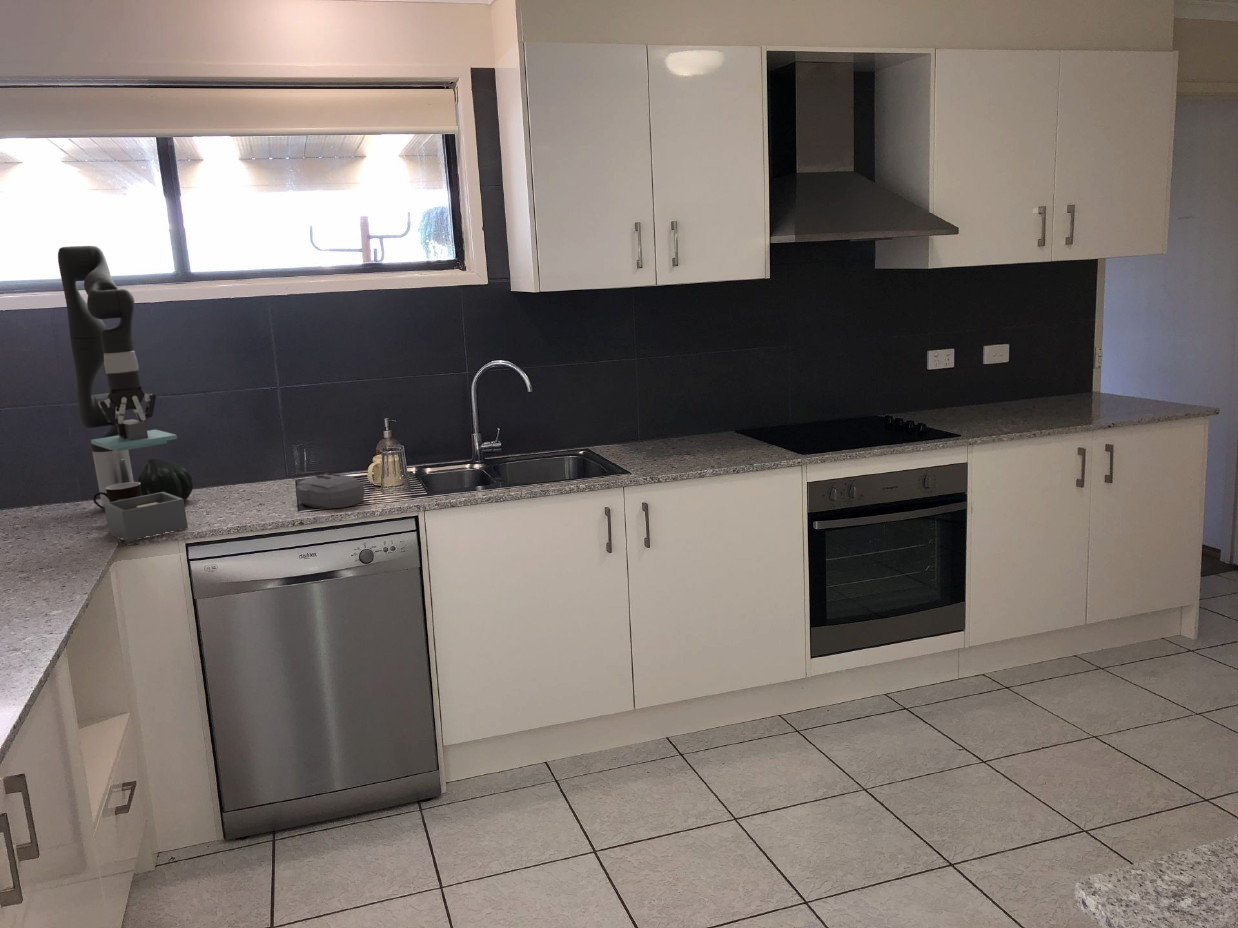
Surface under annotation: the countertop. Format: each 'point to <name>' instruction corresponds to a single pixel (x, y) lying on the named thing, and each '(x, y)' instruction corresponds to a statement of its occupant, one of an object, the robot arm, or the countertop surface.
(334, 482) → the soft grey pack
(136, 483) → the coffee mug
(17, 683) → the countertop surface
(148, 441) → the lid
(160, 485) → the squash
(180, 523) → the storage box
